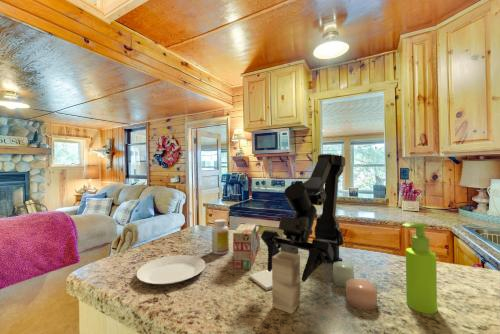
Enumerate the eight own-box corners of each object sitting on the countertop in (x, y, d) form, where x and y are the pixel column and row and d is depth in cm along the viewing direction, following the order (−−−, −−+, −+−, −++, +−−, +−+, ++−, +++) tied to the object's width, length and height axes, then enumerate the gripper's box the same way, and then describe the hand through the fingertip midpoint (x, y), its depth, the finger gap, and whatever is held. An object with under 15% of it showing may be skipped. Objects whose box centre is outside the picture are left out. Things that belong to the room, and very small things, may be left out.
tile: (272, 270, 75) (272, 267, 75) (291, 281, 67) (291, 278, 67) (249, 277, 70) (249, 274, 70) (266, 290, 63) (266, 287, 63)
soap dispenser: (396, 300, 57) (395, 220, 58) (422, 298, 58) (421, 219, 58) (415, 315, 52) (414, 226, 52) (443, 313, 52) (442, 225, 52)
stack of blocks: (245, 247, 98) (245, 218, 98) (260, 247, 97) (259, 218, 97) (233, 268, 77) (232, 232, 77) (251, 270, 76) (250, 232, 76)
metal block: (282, 296, 60) (281, 250, 60) (300, 303, 57) (299, 254, 57) (272, 306, 55) (272, 257, 56) (291, 313, 53) (290, 261, 53)
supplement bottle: (232, 251, 93) (231, 219, 93) (221, 256, 87) (221, 223, 87) (219, 248, 96) (219, 217, 96) (208, 253, 91) (208, 221, 91)
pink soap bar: (360, 291, 62) (360, 277, 62) (383, 306, 55) (383, 289, 55) (340, 297, 59) (339, 282, 59) (362, 313, 53) (362, 295, 53)
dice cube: (298, 253, 90) (298, 240, 90) (287, 255, 88) (287, 242, 88) (291, 249, 95) (291, 237, 95) (280, 250, 93) (280, 238, 93)
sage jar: (343, 276, 70) (343, 260, 70) (358, 285, 65) (358, 267, 65) (329, 280, 68) (328, 263, 68) (343, 289, 63) (343, 271, 63)
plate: (175, 257, 88) (175, 251, 88) (218, 268, 77) (218, 262, 77) (122, 280, 70) (122, 272, 70) (167, 299, 59) (167, 291, 59)
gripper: (263, 201, 66) (240, 251, 56) (329, 207, 55) (313, 270, 45) (277, 223, 72) (258, 271, 63) (339, 232, 61) (326, 292, 52)
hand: (285, 275), depth 56 cm, fingers open, 9 cm apart
